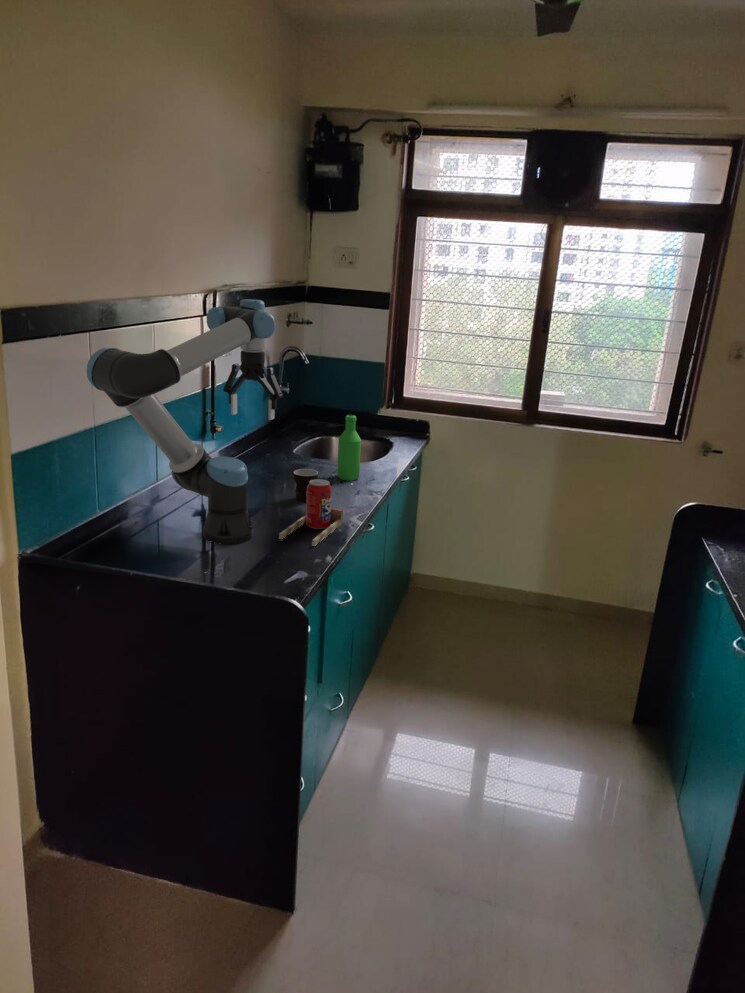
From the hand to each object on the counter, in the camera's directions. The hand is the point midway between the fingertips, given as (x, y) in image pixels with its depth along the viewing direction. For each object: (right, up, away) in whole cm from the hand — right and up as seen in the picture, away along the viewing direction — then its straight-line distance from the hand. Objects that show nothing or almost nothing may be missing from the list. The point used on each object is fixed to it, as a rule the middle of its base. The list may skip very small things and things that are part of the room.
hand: (252, 416), depth 229 cm
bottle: (+29, -19, +50) cm, 61 cm away
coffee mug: (+15, -27, +24) cm, 39 cm away
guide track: (+20, -37, -7) cm, 42 cm away
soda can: (+21, -36, -2) cm, 42 cm away
